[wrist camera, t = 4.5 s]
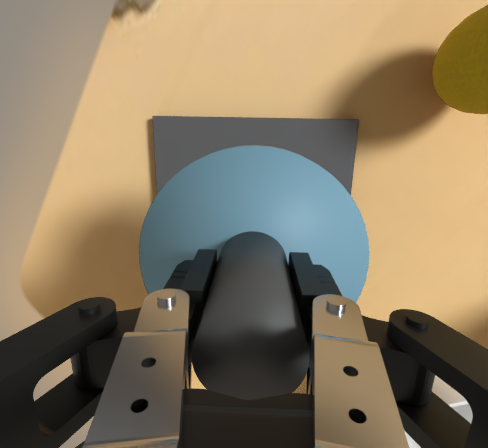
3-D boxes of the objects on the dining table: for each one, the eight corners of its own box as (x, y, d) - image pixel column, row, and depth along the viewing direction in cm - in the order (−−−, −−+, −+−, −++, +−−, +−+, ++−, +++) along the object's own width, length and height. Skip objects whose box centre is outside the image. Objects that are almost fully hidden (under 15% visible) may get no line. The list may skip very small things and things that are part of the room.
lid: (139, 143, 14) (21, 157, 7) (373, 146, 13) (498, 164, 6) (155, 340, 17) (83, 490, 10) (348, 346, 16) (416, 507, 9)
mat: (155, 116, 22) (152, 116, 22) (356, 119, 22) (358, 119, 21) (164, 296, 26) (162, 300, 25) (336, 301, 26) (338, 305, 25)
